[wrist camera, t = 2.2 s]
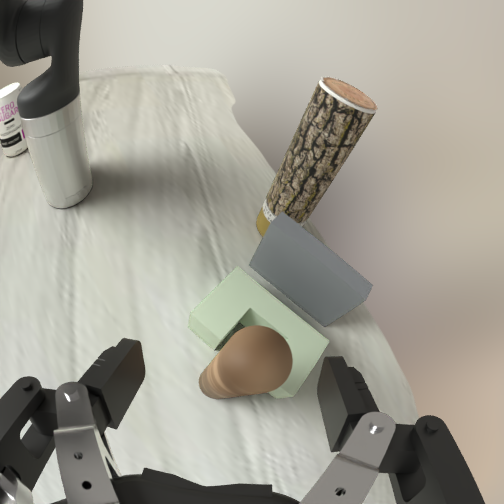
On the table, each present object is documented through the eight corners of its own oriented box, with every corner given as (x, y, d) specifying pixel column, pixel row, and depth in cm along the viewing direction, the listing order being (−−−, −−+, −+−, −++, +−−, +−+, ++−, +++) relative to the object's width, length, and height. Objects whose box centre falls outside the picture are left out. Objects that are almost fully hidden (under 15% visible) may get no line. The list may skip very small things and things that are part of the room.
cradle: (187, 327, 32) (190, 312, 27) (228, 285, 36) (237, 266, 32) (275, 398, 30) (293, 396, 25) (309, 351, 34) (329, 341, 30)
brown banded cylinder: (191, 383, 28) (208, 362, 13) (213, 360, 30) (253, 311, 16) (218, 405, 28) (266, 407, 13) (239, 380, 30) (304, 353, 15)
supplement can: (24, 133, 41) (13, 80, 29) (39, 140, 41) (28, 82, 29) (-1, 153, 36) (-16, 100, 24) (13, 162, 36) (-5, 103, 24)
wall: (248, 265, 39) (270, 222, 31) (258, 254, 40) (282, 211, 32) (324, 326, 37) (366, 299, 28) (332, 314, 38) (372, 285, 30)
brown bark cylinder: (297, 248, 43) (387, 118, 22) (256, 244, 41) (330, 94, 21) (292, 215, 46) (364, 90, 26) (254, 209, 45) (313, 70, 24)
